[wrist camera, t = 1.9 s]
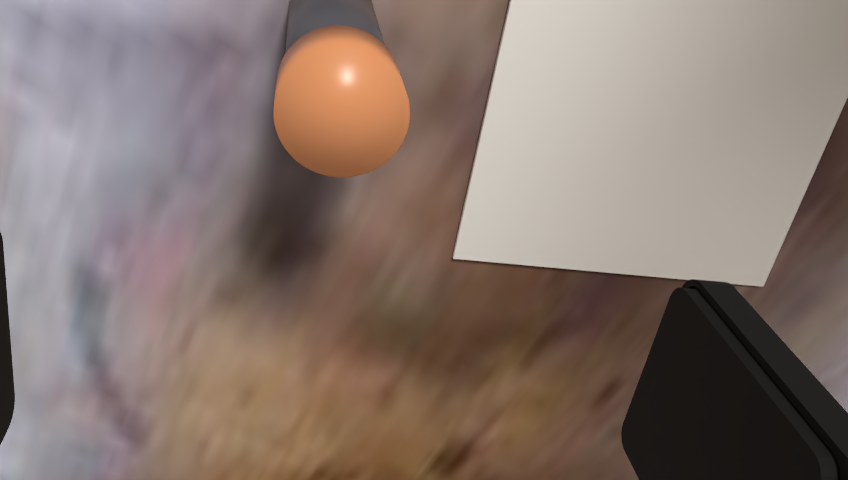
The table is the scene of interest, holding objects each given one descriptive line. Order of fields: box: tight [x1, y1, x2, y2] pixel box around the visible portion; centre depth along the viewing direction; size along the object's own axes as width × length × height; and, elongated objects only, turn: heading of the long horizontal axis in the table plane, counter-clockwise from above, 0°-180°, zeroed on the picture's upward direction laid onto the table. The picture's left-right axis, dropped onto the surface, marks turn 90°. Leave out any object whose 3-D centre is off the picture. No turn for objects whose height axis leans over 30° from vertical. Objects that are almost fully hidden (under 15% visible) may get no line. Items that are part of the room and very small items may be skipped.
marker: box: [274, 0, 410, 177], centre depth 22 cm, size 3×3×10 cm
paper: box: [452, 0, 848, 287], centre depth 30 cm, size 14×14×1 cm
